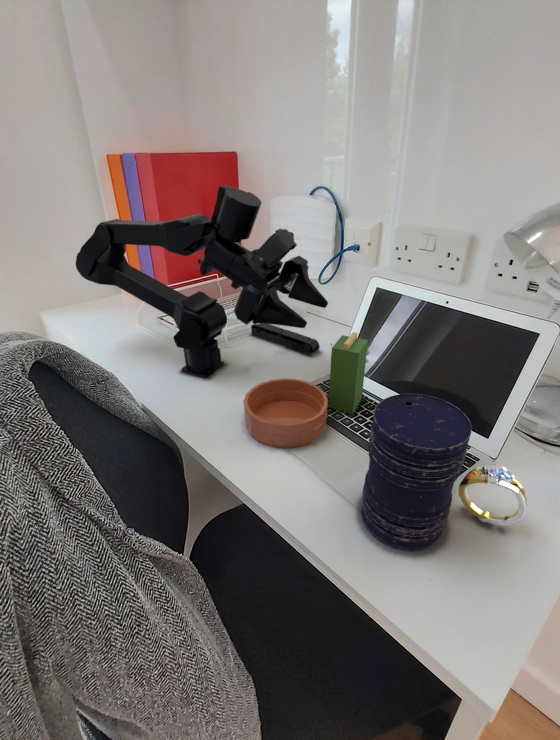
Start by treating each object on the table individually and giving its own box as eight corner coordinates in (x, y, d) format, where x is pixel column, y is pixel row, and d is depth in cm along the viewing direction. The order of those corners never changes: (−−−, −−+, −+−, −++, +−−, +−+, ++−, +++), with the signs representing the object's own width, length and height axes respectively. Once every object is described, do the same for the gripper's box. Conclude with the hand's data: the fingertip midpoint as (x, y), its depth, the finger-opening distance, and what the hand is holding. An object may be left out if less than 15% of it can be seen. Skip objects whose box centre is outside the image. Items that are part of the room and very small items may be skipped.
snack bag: (328, 407, 71) (331, 342, 64) (338, 393, 75) (342, 329, 68) (352, 414, 69) (359, 347, 62) (361, 398, 73) (368, 334, 66)
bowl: (230, 434, 65) (228, 411, 63) (268, 393, 75) (267, 372, 73) (307, 458, 60) (308, 434, 57) (337, 411, 70) (339, 388, 67)
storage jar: (460, 544, 47) (494, 442, 39) (379, 559, 45) (397, 456, 38) (419, 482, 55) (440, 388, 47) (349, 493, 54) (359, 398, 46)
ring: (449, 512, 51) (463, 463, 47) (459, 497, 53) (474, 449, 49) (510, 544, 47) (531, 494, 43) (518, 526, 49) (540, 477, 45)
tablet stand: (319, 352, 88) (320, 340, 87) (312, 357, 87) (312, 344, 85) (258, 331, 98) (257, 320, 97) (250, 335, 97) (250, 323, 95)
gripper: (221, 230, 56) (316, 291, 54) (281, 209, 70) (358, 257, 68) (201, 297, 63) (284, 353, 61) (258, 265, 77) (328, 310, 75)
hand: (316, 314), depth 66 cm, fingers open, 9 cm apart
